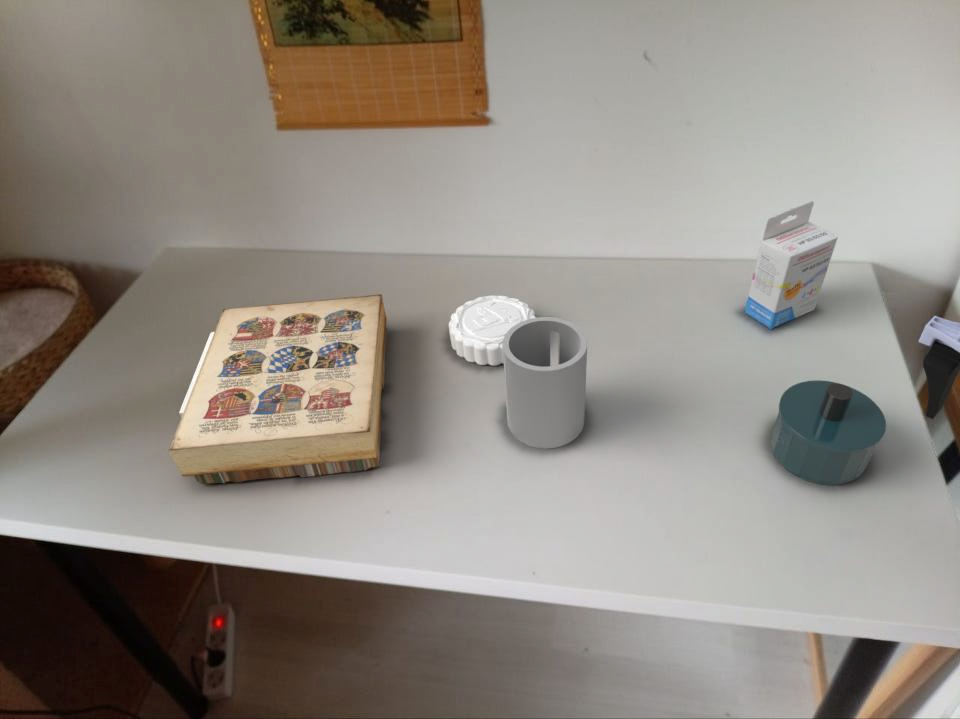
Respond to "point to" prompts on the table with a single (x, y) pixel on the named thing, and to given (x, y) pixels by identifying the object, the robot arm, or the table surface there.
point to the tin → (816, 459)
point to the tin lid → (832, 416)
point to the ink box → (789, 268)
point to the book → (286, 392)
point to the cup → (545, 382)
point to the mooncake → (485, 327)
